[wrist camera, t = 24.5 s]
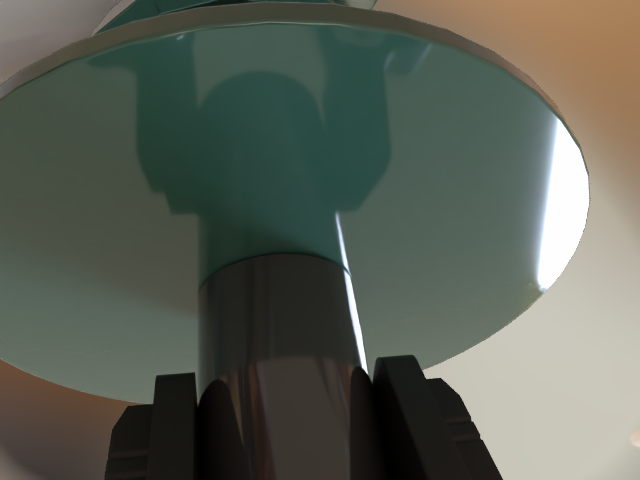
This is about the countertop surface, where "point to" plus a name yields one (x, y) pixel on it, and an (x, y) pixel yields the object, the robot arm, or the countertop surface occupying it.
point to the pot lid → (275, 218)
